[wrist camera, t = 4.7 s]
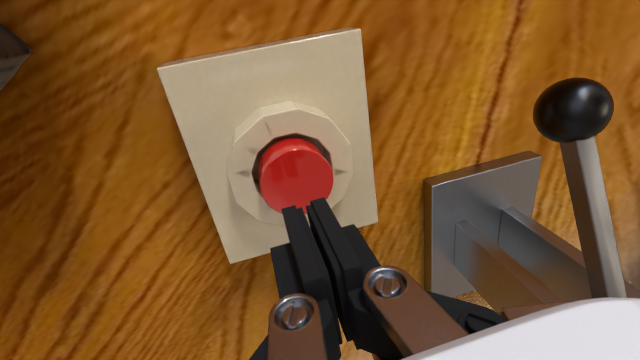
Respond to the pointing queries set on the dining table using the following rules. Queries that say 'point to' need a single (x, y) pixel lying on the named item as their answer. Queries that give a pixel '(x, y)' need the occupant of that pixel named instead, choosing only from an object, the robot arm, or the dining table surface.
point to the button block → (274, 128)
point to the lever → (584, 173)
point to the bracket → (498, 238)
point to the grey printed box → (11, 55)
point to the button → (294, 174)
